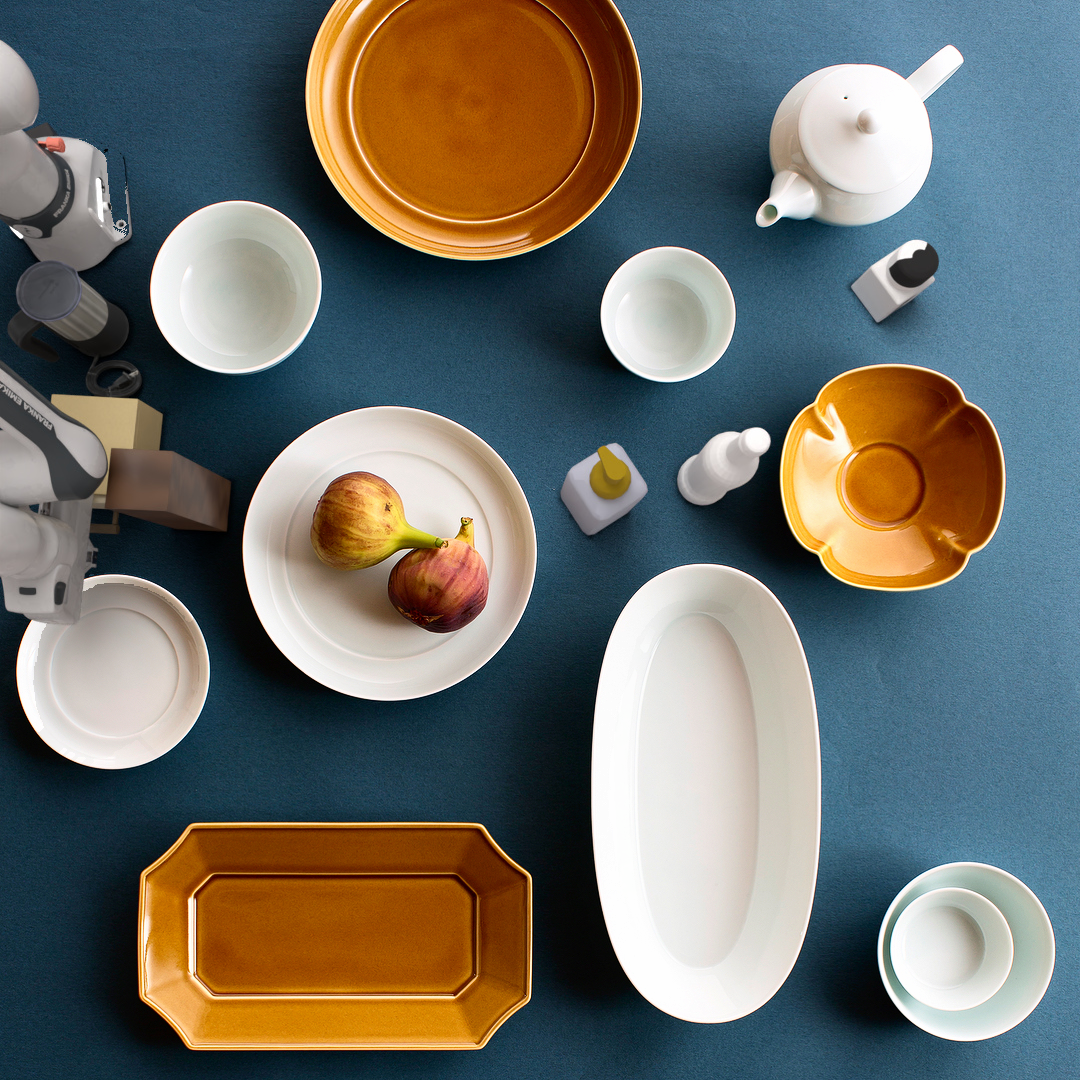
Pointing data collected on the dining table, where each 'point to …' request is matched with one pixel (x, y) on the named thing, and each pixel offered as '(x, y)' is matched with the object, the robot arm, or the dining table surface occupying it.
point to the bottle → (722, 465)
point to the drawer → (104, 528)
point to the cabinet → (114, 423)
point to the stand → (167, 490)
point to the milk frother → (72, 323)
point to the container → (897, 278)
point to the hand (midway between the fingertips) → (92, 557)
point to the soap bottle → (602, 488)
